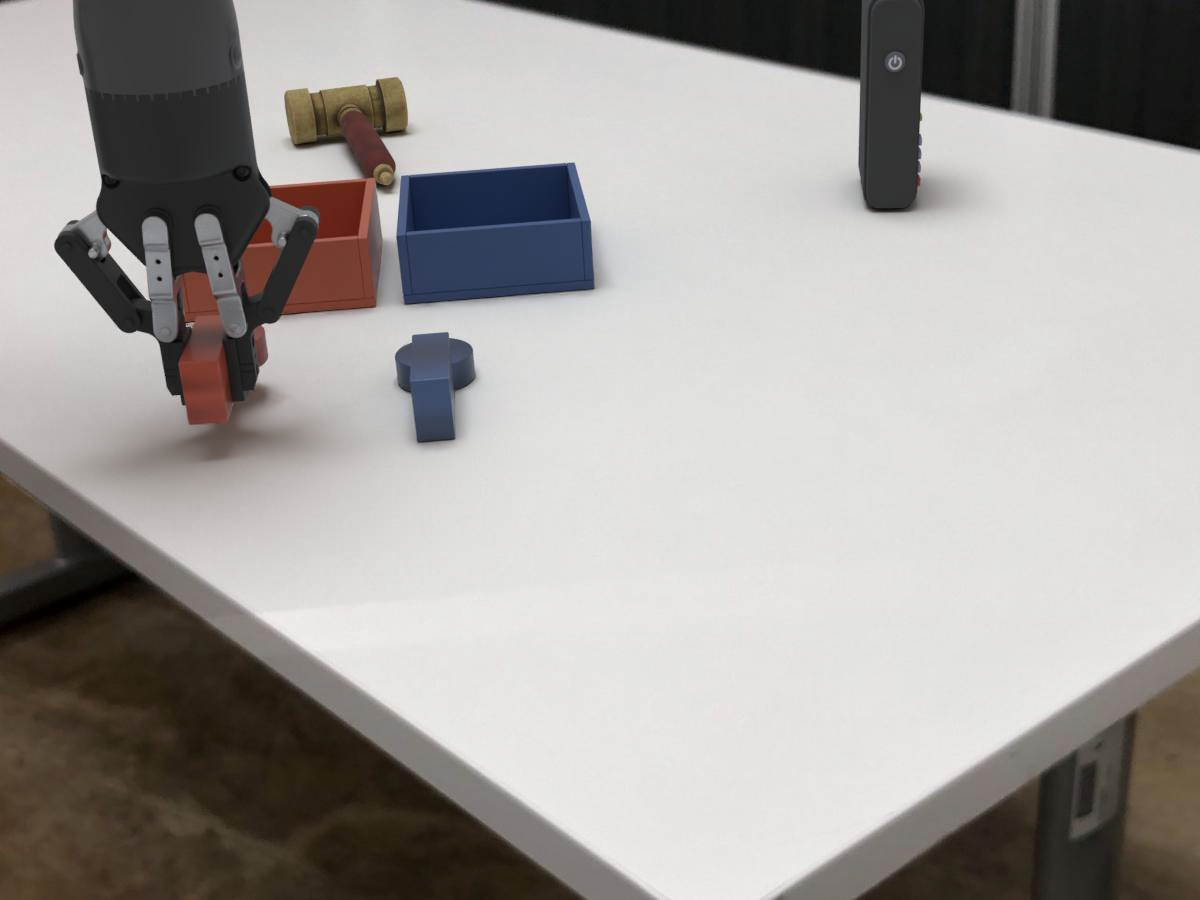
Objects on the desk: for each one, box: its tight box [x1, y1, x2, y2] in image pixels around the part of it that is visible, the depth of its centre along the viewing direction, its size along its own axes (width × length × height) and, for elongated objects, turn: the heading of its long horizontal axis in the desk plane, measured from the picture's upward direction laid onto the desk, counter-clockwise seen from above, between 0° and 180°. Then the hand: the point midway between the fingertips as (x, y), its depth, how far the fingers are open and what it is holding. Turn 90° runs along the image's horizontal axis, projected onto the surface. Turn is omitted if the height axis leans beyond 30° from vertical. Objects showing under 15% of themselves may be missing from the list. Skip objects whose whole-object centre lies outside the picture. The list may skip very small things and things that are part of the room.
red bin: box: [183, 177, 384, 323], centre depth 104 cm, size 12×13×5 cm
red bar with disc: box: [178, 315, 269, 426], centre depth 84 cm, size 10×4×4 cm, turn 5°
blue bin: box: [395, 161, 596, 305], centre depth 105 cm, size 12×13×5 cm
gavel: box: [283, 76, 409, 186], centre depth 130 cm, size 21×5×10 cm
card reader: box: [857, 0, 926, 209], centre depth 112 cm, size 9×4×15 cm, turn 174°
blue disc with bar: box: [394, 331, 476, 443], centre depth 86 cm, size 10×4×4 cm, turn 5°
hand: (215, 396), depth 83 cm, fingers closed on red bar with disc, 2 cm apart
